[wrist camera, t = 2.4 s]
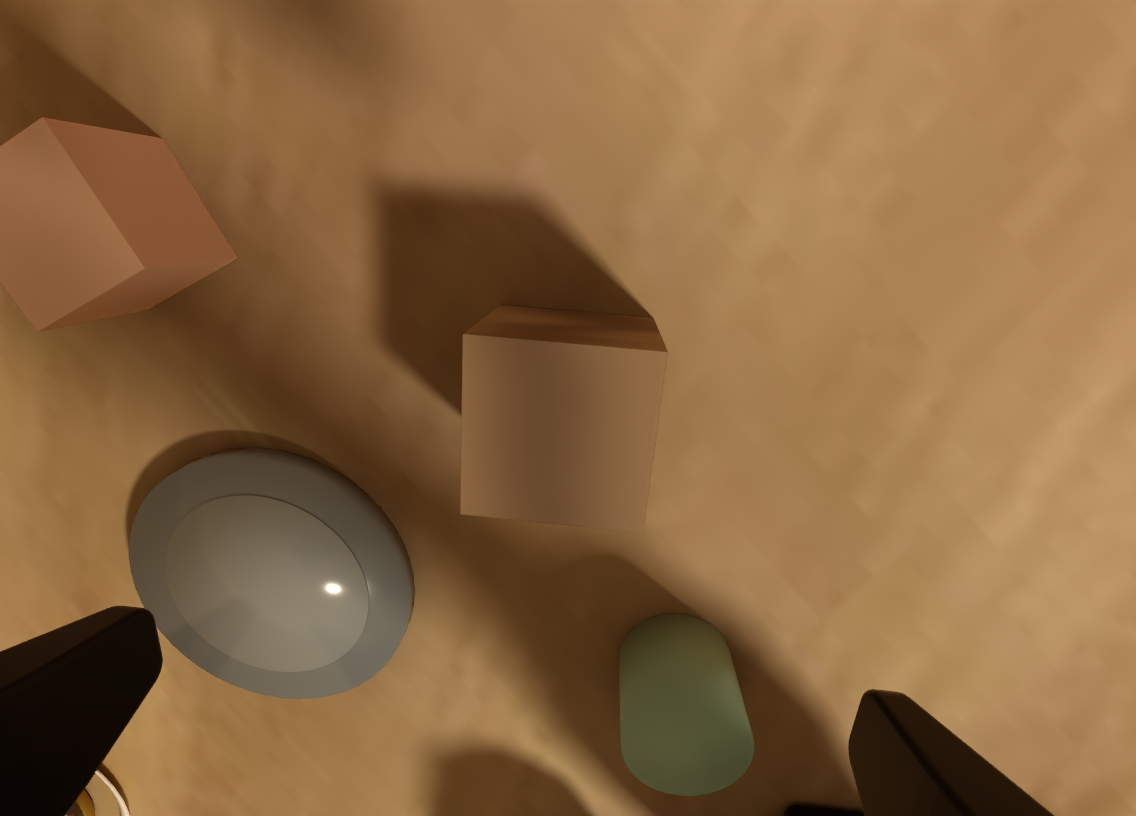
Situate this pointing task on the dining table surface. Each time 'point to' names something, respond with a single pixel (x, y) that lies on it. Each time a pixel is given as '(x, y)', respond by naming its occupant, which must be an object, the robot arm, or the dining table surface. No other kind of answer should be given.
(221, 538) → the saucer
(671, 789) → the green tin
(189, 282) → the terracotta block
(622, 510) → the walnut block
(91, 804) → the hamburger
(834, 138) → the dining table surface
